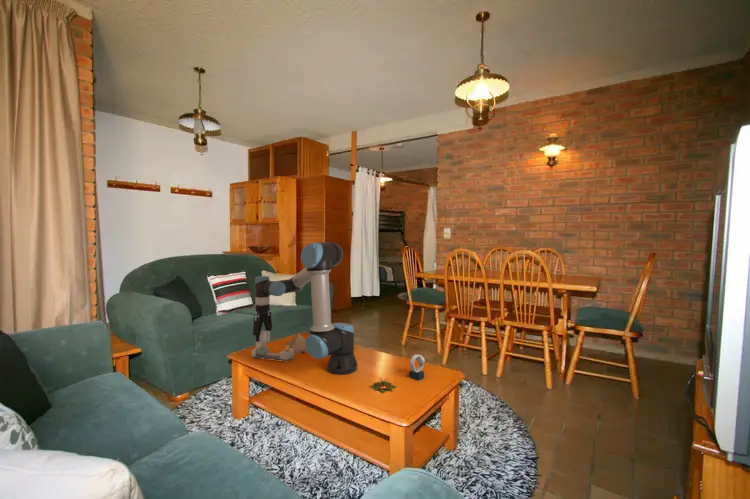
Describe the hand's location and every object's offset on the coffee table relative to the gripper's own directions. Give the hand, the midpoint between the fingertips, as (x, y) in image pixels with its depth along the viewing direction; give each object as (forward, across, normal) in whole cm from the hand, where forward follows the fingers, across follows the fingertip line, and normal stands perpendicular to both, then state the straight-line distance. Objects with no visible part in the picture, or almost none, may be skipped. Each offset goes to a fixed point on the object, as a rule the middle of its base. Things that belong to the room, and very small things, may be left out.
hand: (263, 344), depth 187 cm
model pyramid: (+8, -18, +13) cm, 23 cm away
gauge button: (+3, 0, +15) cm, 15 cm away
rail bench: (+7, 0, +6) cm, 10 cm away
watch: (+7, +6, +87) cm, 87 cm away
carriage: (+5, 0, 0) cm, 5 cm away
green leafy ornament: (+8, +19, +73) cm, 76 cm away
